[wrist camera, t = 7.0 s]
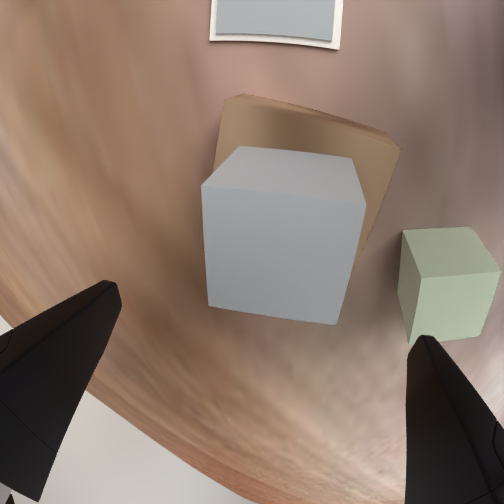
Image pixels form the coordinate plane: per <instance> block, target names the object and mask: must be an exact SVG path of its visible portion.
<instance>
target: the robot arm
mask: <svg viewBox="0 0 504 504" xmlns="http://www.w3.org/2000/svg"><path fill="white" fill-rule="evenodd" d="M121 307H122V302H121V298H120V294H119V290H118V286H117V284H116V283H115V282H112V281H108V280H103V281H101V282H99V283H97V284H95V285H93V286H91V287H89V288H87V289H85V290H83V291H81V292H80V293H78V294H76V295H74V296H72V297H70V298H68V299H66V300H64V301H63V302H61V303H59V304H57V305H55V306H53V307H51V308H50V309H48V310H46V311H44V312H42V313H40V314H39V315H37V316H35V317H33V318H31V319H29V320H28V321H26V322H24V323H22V324H20V325H19V326H17V327H15V328H14V330H13V329H11V330H10V331H8V332H6V333H4V334H3V335H1V336H0V504H15V503H14V500H13V497H12V494H10V493H11V490H12V489H13V490H14V491H16V492H18V493H20V494H22V495H24V496H26V497H28V498H30V499H32V500H34V501H36V502H39V500H40V497H41V494H42V492H43V489H44V486H45V484H46V481H47V478H48V476H49V473H50V470H51V468H52V465H53V463H54V460H55V458H56V455H57V452H58V450H59V448H60V445H61V443H62V440H63V438H64V435H65V433H66V431H67V429H68V426H69V424H70V422H71V419H72V417H73V415H74V413H75V411H76V408H77V406H78V404H79V402H80V400H81V397H82V395H83V393H84V391H85V389H86V387H87V385H88V383H89V381H90V379H91V377H92V374H93V372H94V370H95V368H96V366H97V364H98V362H99V360H100V358H101V356H102V354H103V352H104V350H105V348H106V346H107V343H108V341H109V338H110V336H111V333H112V330H113V328H114V325H115V323H116V320H117V318H118V316H119V313H120V311H121ZM496 420H497V419H496V417H495V416H494V415H493V413H492V412H491V410H490V409H489V407H488V406H487V405H486V403H485V402H484V401H483V399H482V398H481V396H480V395H479V394H478V392H477V391H476V390H475V388H474V387H473V386H472V384H471V383H470V382H469V380H468V379H467V378H466V376H465V375H464V374H463V372H462V371H461V370H460V369H459V367H458V366H457V365H456V363H455V362H454V361H453V360H452V358H451V357H450V356H449V355H448V353H447V352H446V351H445V350H444V348H443V347H442V346H441V345H440V343H439V342H438V341H437V340H436V339H435V337H434V336H432V335H420V336H419V337H418V338H417V340H416V342H415V343H414V345H413V347H412V348H411V350H410V352H409V354H408V358H407V386H406V436H407V461H406V490H405V504H504V429H503V427H502V426H501V424H500V423H499V422H498V421H496Z"/></svg>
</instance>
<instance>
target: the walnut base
mask: <svg viewBox="0 0 504 504" xmlns="http://www.w3.org/2000/svg"><path fill="white" fill-rule="evenodd" d="M239 146H247V147H260V148H271V149H282V150H292V151H301V152H309V153H317V154H325V155H332V156H339V157H346V158H352V161H353V164H354V167H355V170H356V173H357V176H358V179H359V182H360V185H361V188H362V192H363V195H364V198H365V202H366V210H365V215H364V220H363V224H362V229H361V233H360V238H359V242H358V246H357V250H356V254H355V259H354V263H353V267H352V270H351V273H352V271H353V269H354V266H355V264H356V262H357V260H358V258H359V255H360V253H361V251H362V249H363V246H364V244H365V242H366V240H367V237H368V235H369V233H370V230H371V228H372V226H373V223H374V221H375V218H376V216H377V213H378V211H379V209H380V206H381V204H382V201H383V199H384V196H385V193H386V191H387V188H388V186H389V183H390V180H391V178H392V175H393V172H394V170H395V167H396V164H397V161H398V159H399V156H400V153H401V150H402V149H401V148H400V147H399V146H398V145H397V144H396V143H395V141H394V140H393V139H392V138H391V137H390V136H389V135H388V134H387V133H385V132H383V131H380V130H377V129H374V128H371V127H368V126H365V125H362V124H359V123H356V122H353V121H350V120H347V119H344V118H341V117H337V116H334V115H331V114H327V113H324V112H320V111H317V110H313V109H309V108H305V107H302V106H298V105H294V104H290V103H285V102H281V101H277V100H272V99H268V98H263V97H259V96H254V95H249V94H240V95H237V96H234V97H231V98H229V99H226V100H224V105H223V111H222V117H221V123H220V129H219V135H218V141H217V147H216V154H215V160H214V167H213V172H214V171H215V170H216V169H217V168H218V167H219V166H220V165H221V164H222V163H223V162H224V161H225V160H226V159H227V158H228V157H229V156H230V155H231V154H232V153H233V152H234V151H235V150H236V149H237V148H238V147H239ZM203 249H204V241H203ZM350 275H351V274H350Z"/></svg>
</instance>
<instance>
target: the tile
mask: <svg viewBox="0 0 504 504" xmlns="http://www.w3.org/2000/svg"><path fill="white" fill-rule="evenodd" d="M342 8H343V0H212V7H211V23H210V40H209V41H261V42H277V43H289V44H299V45H308V46H316V47H323V48H330V49H337V50H339V46H340V34H341V22H342Z"/></svg>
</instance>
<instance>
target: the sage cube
mask: <svg viewBox="0 0 504 504" xmlns="http://www.w3.org/2000/svg"><path fill="white" fill-rule="evenodd" d="M501 272H502V271H501V269H500V268H499V266H498V265H497V263H496V262H495V260H494V259H493V257H492V256H491V254H490V253H489V251H488V250H487V248H486V247H485V246H484V244H483V243H482V241H481V240H480V239H479V237H478V236H477V234H476V233H475V232H474V230H473V229H472V228H471V227H454V228H432V229H412V230H402V246H401V259H400V270H399V280H398V289H397V293H398V298H399V302H400V306H401V310H402V315H403V319H404V324H405V329H406V334H407V339H408V344H409V345H410V344H414V343H415V342H416V340H417V338H418V337H419V336H420V335H432V336H434V337H435V339H436V340H437V341H438V342H439V341H447V340H455V339H463V338H470V337H477V336H480V333H481V331H482V328H483V326H484V323H485V320H486V318H487V315H488V312H489V309H490V306H491V304H492V301H493V298H494V295H495V291H496V288H497V285H498V282H499V278H500V275H501Z"/></svg>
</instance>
